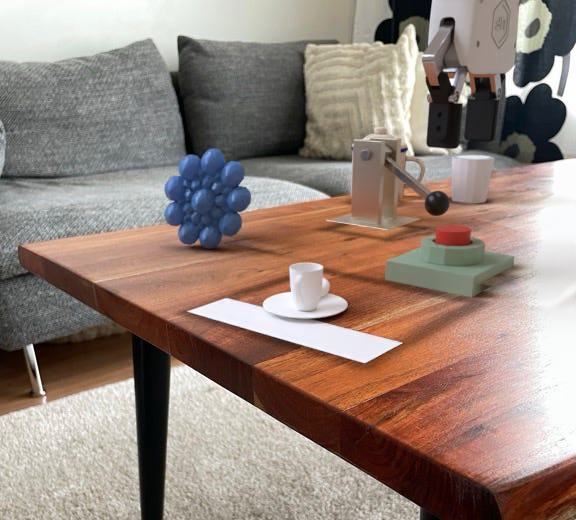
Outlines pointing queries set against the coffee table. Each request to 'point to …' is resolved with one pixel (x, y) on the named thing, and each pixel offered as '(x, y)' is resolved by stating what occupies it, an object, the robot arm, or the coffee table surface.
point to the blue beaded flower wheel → (206, 199)
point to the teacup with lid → (403, 158)
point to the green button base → (448, 267)
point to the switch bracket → (374, 186)
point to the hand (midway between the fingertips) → (461, 142)
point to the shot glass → (471, 177)
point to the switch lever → (418, 187)
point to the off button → (453, 235)
